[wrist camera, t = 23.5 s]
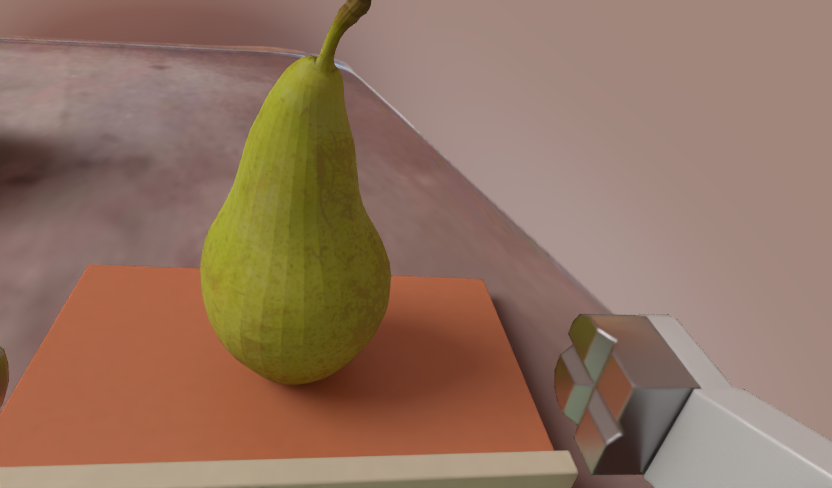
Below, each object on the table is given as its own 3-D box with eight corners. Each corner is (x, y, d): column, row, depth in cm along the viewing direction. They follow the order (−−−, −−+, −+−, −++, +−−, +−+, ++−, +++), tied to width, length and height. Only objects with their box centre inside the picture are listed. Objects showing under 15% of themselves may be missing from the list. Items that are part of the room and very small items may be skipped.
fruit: (256, 289, 22) (257, -57, 16) (398, 331, 21) (460, -15, 15) (161, 392, 17) (108, -48, 11) (341, 453, 16) (397, 13, 10)
